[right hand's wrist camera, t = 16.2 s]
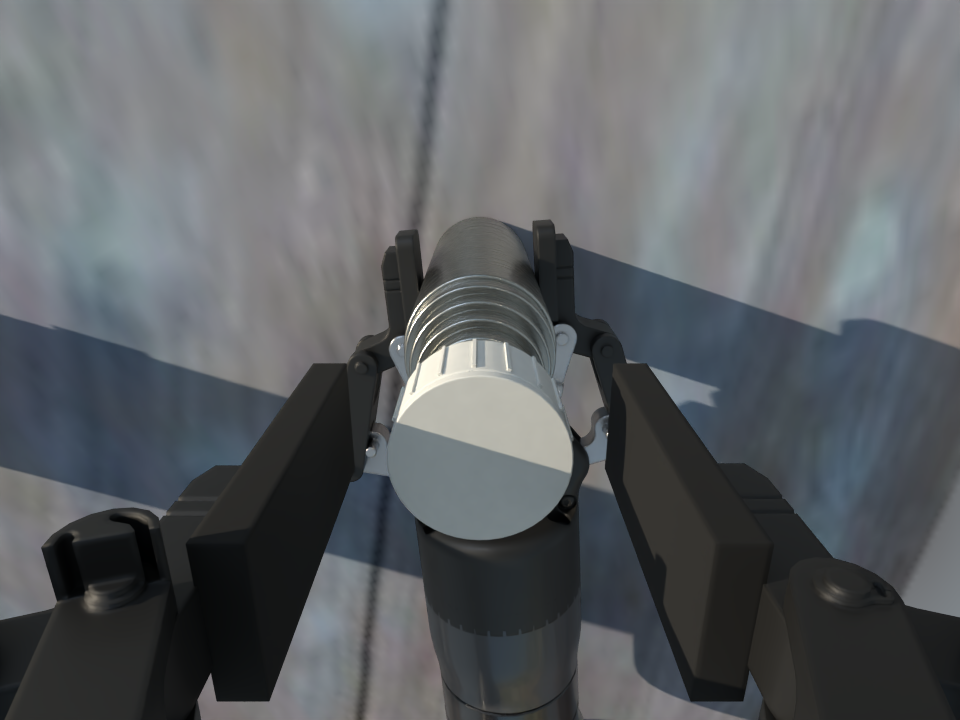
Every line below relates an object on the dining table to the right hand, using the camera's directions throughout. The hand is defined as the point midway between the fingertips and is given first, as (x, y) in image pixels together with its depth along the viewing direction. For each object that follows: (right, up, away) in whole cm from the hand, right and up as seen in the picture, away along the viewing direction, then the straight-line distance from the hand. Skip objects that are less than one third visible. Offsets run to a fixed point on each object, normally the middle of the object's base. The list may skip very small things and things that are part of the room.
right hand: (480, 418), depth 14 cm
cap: (0, -1, -2) cm, 2 cm away
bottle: (0, +6, +16) cm, 18 cm away
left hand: (0, +6, +10) cm, 12 cm away
